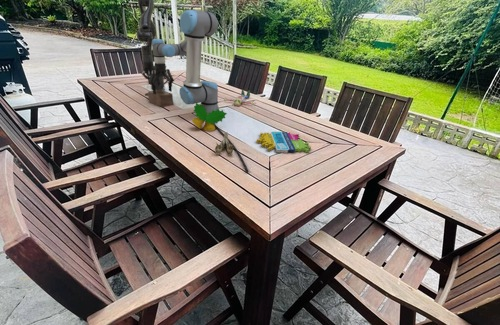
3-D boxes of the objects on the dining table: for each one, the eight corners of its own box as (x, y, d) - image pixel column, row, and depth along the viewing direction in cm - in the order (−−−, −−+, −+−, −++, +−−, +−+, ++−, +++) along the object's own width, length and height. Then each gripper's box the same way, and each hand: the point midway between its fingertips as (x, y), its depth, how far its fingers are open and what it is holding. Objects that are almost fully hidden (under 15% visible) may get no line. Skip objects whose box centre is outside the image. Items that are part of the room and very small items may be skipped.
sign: (313, 150, 142) (258, 149, 139) (312, 153, 143) (258, 152, 140) (301, 132, 164) (254, 130, 161) (301, 134, 165) (254, 133, 162)
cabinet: (149, 102, 204) (148, 91, 200) (161, 99, 211) (160, 89, 207) (161, 107, 195) (160, 96, 191) (173, 104, 203) (172, 93, 199)
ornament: (218, 133, 171) (224, 110, 169) (221, 134, 163) (227, 111, 161) (186, 125, 162) (192, 101, 160) (189, 126, 155) (195, 101, 153)
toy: (261, 91, 228) (254, 99, 202) (261, 99, 231) (253, 108, 205) (231, 87, 233) (220, 95, 207) (230, 95, 236) (219, 104, 210)
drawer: (144, 98, 208) (143, 90, 205) (155, 96, 214) (154, 88, 211) (159, 104, 197) (158, 96, 194) (170, 102, 203) (169, 94, 200)
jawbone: (234, 135, 144) (233, 125, 135) (233, 160, 138) (232, 151, 129) (217, 135, 144) (216, 125, 135) (216, 160, 138) (214, 150, 129)
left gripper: (153, 59, 202) (155, 82, 211) (137, 60, 193) (140, 84, 202) (158, 61, 198) (160, 84, 207) (142, 62, 189) (145, 86, 197)
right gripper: (171, 60, 197) (173, 89, 208) (140, 63, 180) (144, 93, 191) (177, 62, 193) (179, 91, 204) (146, 65, 176) (150, 96, 187)
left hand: (150, 84), depth 204 cm, fingers closed
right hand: (162, 92), depth 197 cm, fingers open, 13 cm apart
